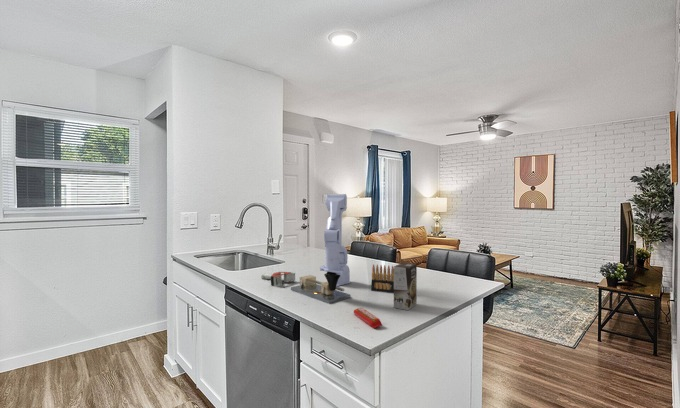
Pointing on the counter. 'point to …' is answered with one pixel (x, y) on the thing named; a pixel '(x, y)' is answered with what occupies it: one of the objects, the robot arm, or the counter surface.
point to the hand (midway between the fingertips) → (332, 290)
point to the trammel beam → (312, 282)
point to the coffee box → (405, 286)
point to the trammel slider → (326, 288)
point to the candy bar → (367, 317)
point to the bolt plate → (316, 293)
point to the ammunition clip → (382, 279)
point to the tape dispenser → (279, 278)
